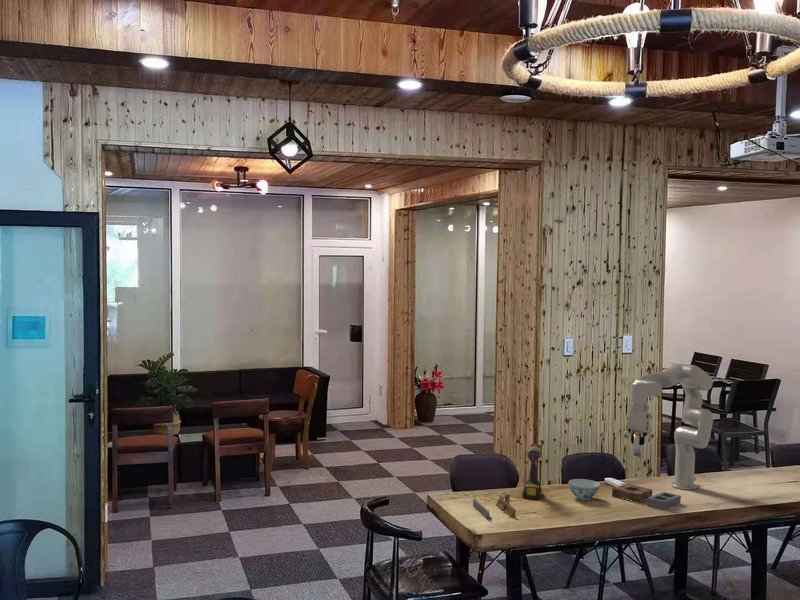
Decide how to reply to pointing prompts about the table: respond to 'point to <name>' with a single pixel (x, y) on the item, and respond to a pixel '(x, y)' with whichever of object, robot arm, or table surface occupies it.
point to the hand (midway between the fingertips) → (637, 443)
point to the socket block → (631, 492)
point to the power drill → (533, 474)
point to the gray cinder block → (663, 500)
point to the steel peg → (637, 444)
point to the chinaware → (584, 488)
